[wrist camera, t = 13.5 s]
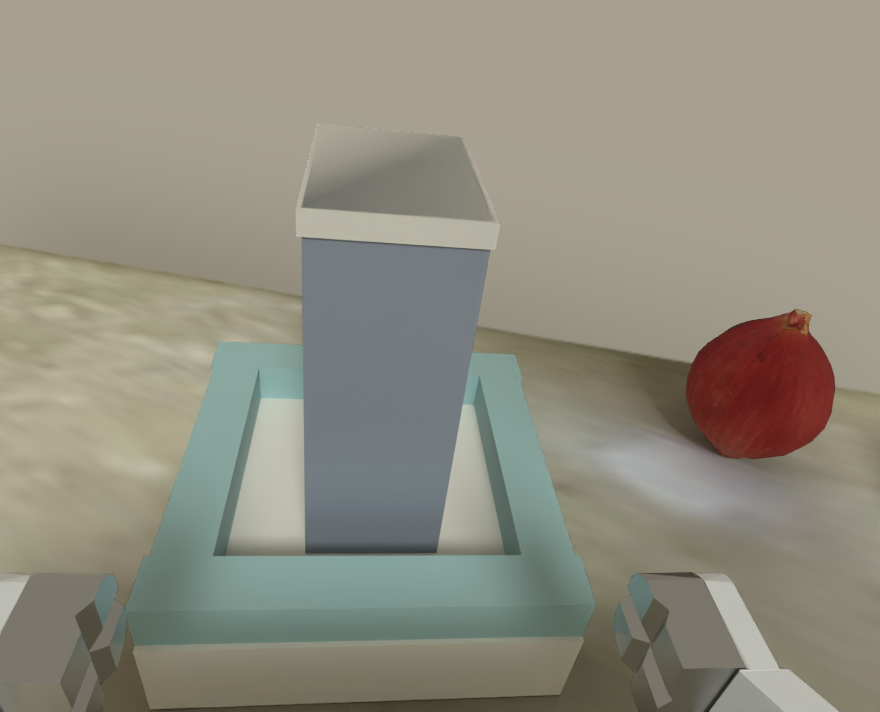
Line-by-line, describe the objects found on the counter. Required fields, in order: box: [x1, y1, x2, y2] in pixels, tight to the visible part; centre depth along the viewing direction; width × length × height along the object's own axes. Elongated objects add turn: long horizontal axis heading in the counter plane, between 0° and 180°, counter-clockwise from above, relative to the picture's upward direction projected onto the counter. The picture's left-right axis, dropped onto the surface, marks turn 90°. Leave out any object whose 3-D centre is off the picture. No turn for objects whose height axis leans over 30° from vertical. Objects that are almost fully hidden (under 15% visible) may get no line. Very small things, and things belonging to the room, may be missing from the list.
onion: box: [686, 309, 835, 459], centre depth 27 cm, size 6×6×8 cm
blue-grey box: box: [296, 124, 500, 553], centre depth 18 cm, size 4×6×11 cm
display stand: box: [125, 341, 596, 709], centre depth 22 cm, size 12×12×4 cm
